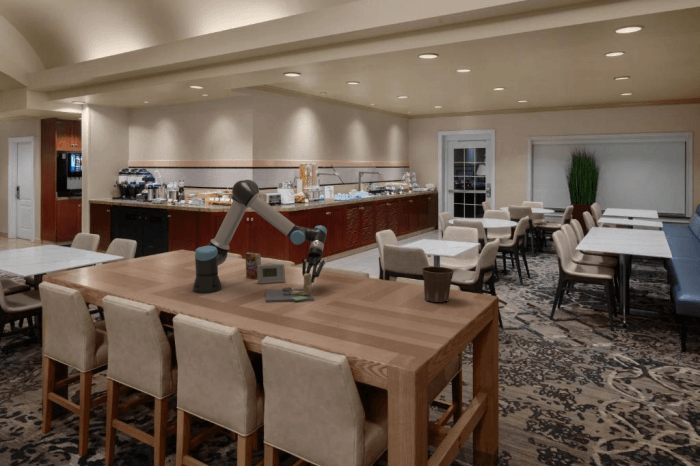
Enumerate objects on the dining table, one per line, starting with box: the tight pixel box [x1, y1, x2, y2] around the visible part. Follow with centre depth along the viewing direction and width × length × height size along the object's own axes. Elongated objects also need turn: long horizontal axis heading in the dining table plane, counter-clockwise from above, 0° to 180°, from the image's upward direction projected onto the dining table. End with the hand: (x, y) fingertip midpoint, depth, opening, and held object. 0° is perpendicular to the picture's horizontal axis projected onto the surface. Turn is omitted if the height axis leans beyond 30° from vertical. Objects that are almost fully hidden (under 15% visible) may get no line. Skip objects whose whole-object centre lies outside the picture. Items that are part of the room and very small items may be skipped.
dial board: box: [265, 288, 314, 303], centre depth 258 cm, size 24×23×3 cm
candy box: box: [245, 252, 262, 280], centre depth 300 cm, size 9×4×15 cm, turn 61°
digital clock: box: [257, 263, 286, 285], centre depth 289 cm, size 16×9×11 cm, turn 96°
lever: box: [281, 273, 312, 295], centre depth 257 cm, size 15×5×11 cm, turn 80°
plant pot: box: [421, 266, 455, 303], centre depth 253 cm, size 16×16×16 cm
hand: (307, 287), depth 260 cm, fingers closed
